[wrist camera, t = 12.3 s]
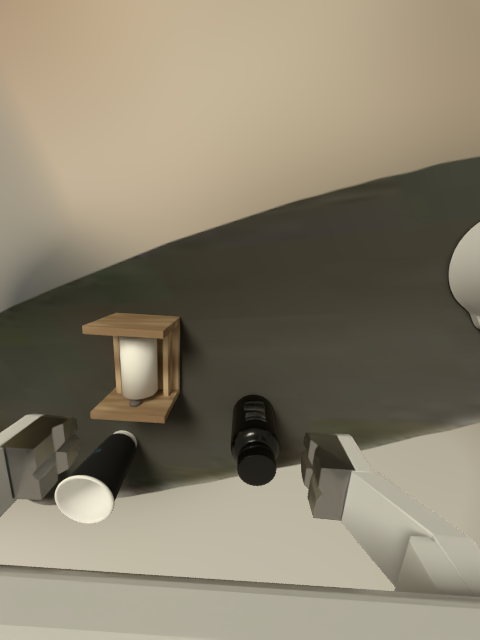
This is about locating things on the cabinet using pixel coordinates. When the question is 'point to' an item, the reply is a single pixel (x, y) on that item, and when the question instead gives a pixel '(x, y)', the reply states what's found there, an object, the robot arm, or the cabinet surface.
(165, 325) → the holder
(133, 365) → the paper roll
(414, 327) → the cabinet surface
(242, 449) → the supplement bottle
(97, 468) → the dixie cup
